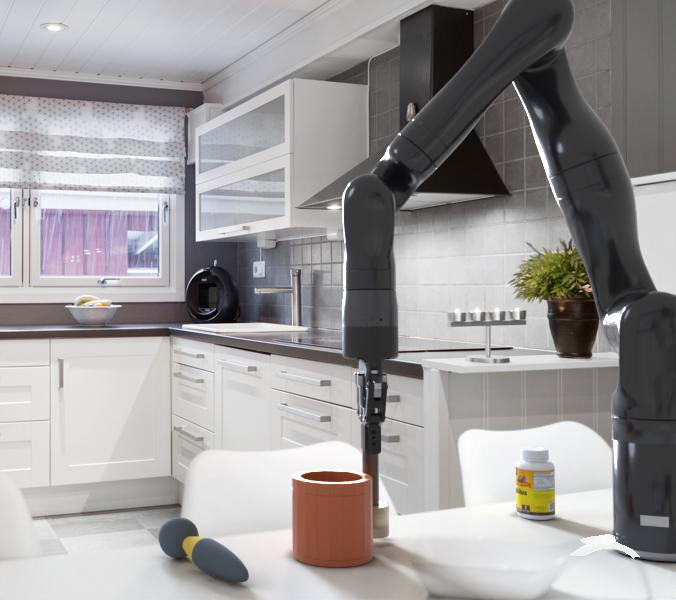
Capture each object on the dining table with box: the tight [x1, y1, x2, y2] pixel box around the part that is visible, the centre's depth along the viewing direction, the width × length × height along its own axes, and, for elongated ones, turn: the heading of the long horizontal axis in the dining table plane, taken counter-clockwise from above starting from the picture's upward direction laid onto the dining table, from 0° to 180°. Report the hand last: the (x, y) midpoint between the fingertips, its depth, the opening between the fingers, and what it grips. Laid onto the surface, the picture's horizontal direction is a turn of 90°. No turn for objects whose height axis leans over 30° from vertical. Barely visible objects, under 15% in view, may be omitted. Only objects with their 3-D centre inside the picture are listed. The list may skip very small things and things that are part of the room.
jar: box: [291, 469, 374, 568], centre depth 105 cm, size 10×10×10 cm
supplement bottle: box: [515, 446, 556, 521], centre depth 126 cm, size 6×6×10 cm
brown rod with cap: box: [361, 415, 390, 540], centre depth 112 cm, size 5×5×16 cm
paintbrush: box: [158, 516, 250, 584], centre depth 100 cm, size 20×5×5 cm, turn 38°
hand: (371, 451), depth 112 cm, fingers closed on brown rod with cap
